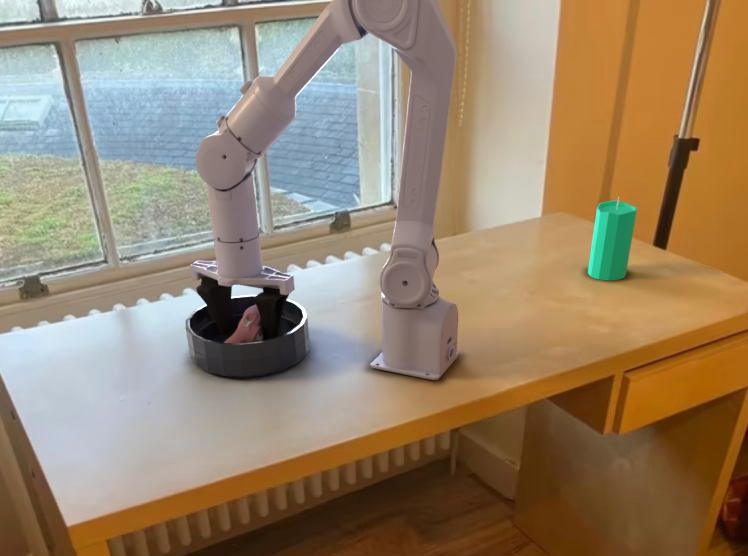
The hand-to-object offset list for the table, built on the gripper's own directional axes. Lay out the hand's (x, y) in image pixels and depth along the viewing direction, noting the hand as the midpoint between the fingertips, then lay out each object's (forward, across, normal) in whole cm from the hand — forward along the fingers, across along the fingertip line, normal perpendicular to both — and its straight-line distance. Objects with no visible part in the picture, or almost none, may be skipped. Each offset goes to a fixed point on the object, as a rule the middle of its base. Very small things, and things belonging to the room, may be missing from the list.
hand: (248, 336), depth 108 cm
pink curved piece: (+2, 0, 0) cm, 2 cm away
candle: (+2, +38, +47) cm, 60 cm away
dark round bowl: (+2, 0, 0) cm, 2 cm away
